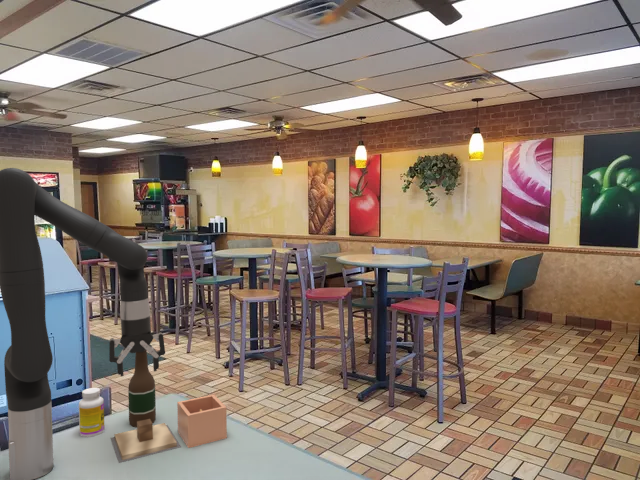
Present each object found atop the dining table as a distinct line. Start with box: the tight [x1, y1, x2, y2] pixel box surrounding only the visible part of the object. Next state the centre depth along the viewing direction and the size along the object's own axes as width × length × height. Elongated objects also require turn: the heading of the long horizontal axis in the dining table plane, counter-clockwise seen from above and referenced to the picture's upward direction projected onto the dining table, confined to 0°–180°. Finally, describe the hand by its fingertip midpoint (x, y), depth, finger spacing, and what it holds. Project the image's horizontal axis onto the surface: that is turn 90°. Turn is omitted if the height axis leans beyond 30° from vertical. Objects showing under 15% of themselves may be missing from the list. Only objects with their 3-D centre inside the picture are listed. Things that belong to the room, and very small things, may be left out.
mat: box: [110, 424, 182, 464], centre depth 132 cm, size 16×16×1 cm
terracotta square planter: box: [176, 394, 228, 449], centre depth 136 cm, size 11×11×10 cm
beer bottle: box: [127, 350, 157, 428], centre depth 144 cm, size 8×8×24 cm
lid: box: [113, 419, 177, 460], centre depth 132 cm, size 14×14×6 cm
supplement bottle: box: [78, 387, 105, 438], centre depth 138 cm, size 7×7×13 cm
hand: (138, 373), depth 130 cm, fingers open, 8 cm apart
